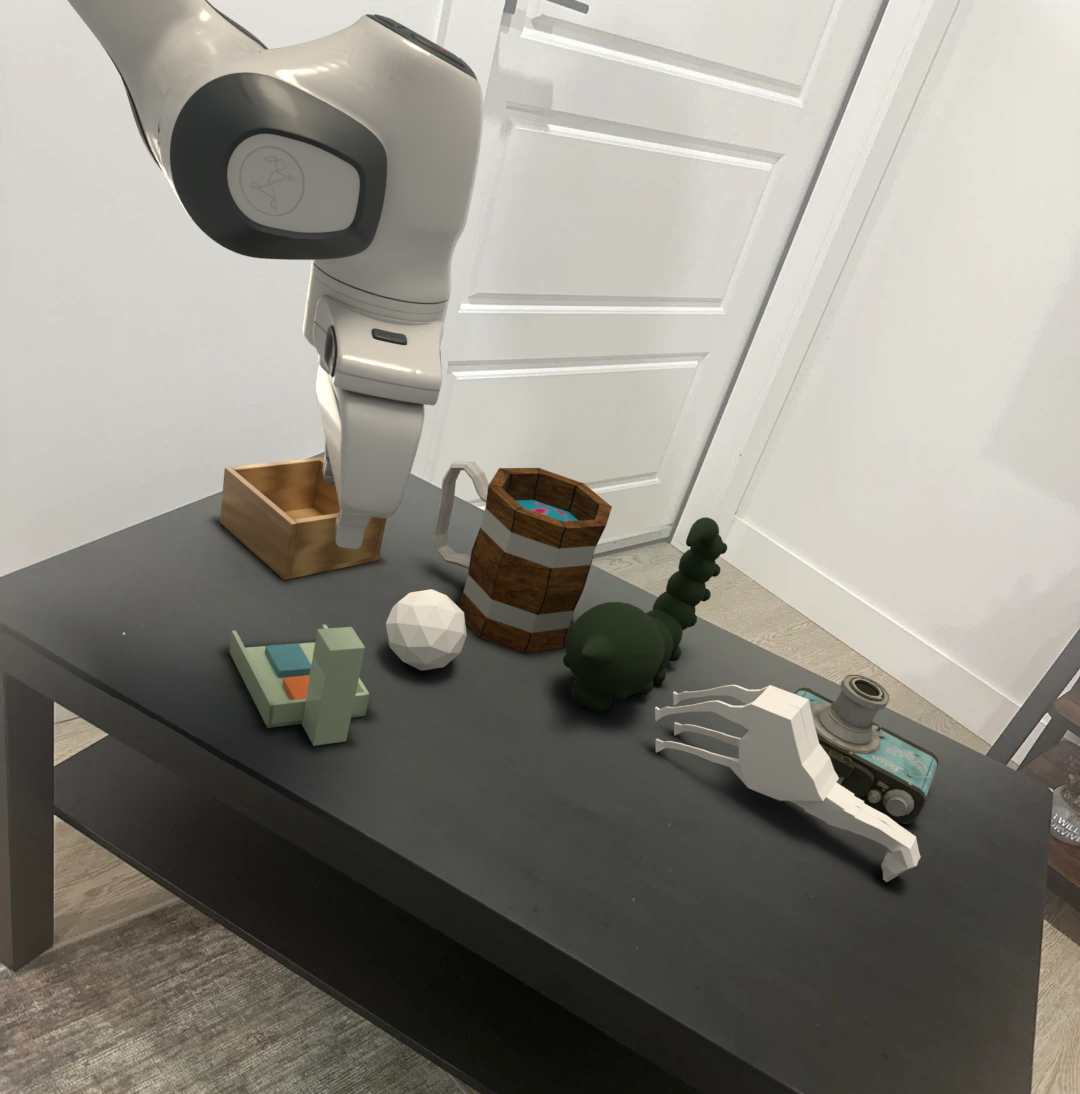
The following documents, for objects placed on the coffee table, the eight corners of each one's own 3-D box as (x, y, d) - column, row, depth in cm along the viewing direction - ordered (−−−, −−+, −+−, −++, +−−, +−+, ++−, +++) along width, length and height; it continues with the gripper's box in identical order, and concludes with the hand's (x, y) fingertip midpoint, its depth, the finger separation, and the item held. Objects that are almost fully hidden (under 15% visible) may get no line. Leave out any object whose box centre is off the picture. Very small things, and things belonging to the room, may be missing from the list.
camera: (969, 719, 99) (955, 763, 91) (922, 788, 104) (905, 835, 96) (820, 643, 103) (795, 679, 95) (783, 713, 108) (756, 753, 101)
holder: (283, 580, 102) (291, 524, 98) (219, 522, 108) (224, 467, 104) (378, 560, 110) (388, 508, 107) (314, 508, 116) (321, 456, 112)
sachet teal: (312, 674, 90) (313, 667, 89) (278, 678, 88) (279, 671, 88) (297, 649, 92) (298, 642, 92) (264, 652, 90) (265, 645, 90)
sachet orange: (331, 708, 87) (333, 701, 86) (296, 712, 85) (298, 705, 84) (316, 681, 89) (317, 674, 89) (281, 684, 87) (283, 677, 87)
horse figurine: (655, 834, 100) (909, 900, 87) (653, 686, 93) (928, 734, 80) (676, 812, 103) (922, 872, 91) (675, 668, 96) (941, 711, 84)
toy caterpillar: (626, 640, 115) (515, 702, 95) (689, 492, 105) (580, 526, 85) (694, 680, 112) (594, 753, 92) (766, 531, 103) (671, 576, 82)
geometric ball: (403, 670, 100) (413, 593, 100) (474, 678, 97) (484, 598, 97) (365, 662, 93) (376, 579, 93) (441, 670, 90) (452, 584, 90)
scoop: (378, 737, 86) (399, 644, 80) (278, 750, 81) (293, 653, 75) (322, 645, 95) (337, 556, 89) (229, 652, 90) (239, 558, 84)
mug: (593, 628, 112) (636, 511, 103) (531, 669, 101) (572, 542, 93) (459, 550, 118) (489, 433, 109) (387, 581, 107) (414, 454, 99)
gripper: (312, 263, 70) (287, 442, 78) (341, 371, 55) (306, 578, 63) (398, 283, 73) (365, 455, 81) (448, 392, 58) (401, 589, 66)
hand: (339, 510), depth 72 cm, fingers open, 8 cm apart
